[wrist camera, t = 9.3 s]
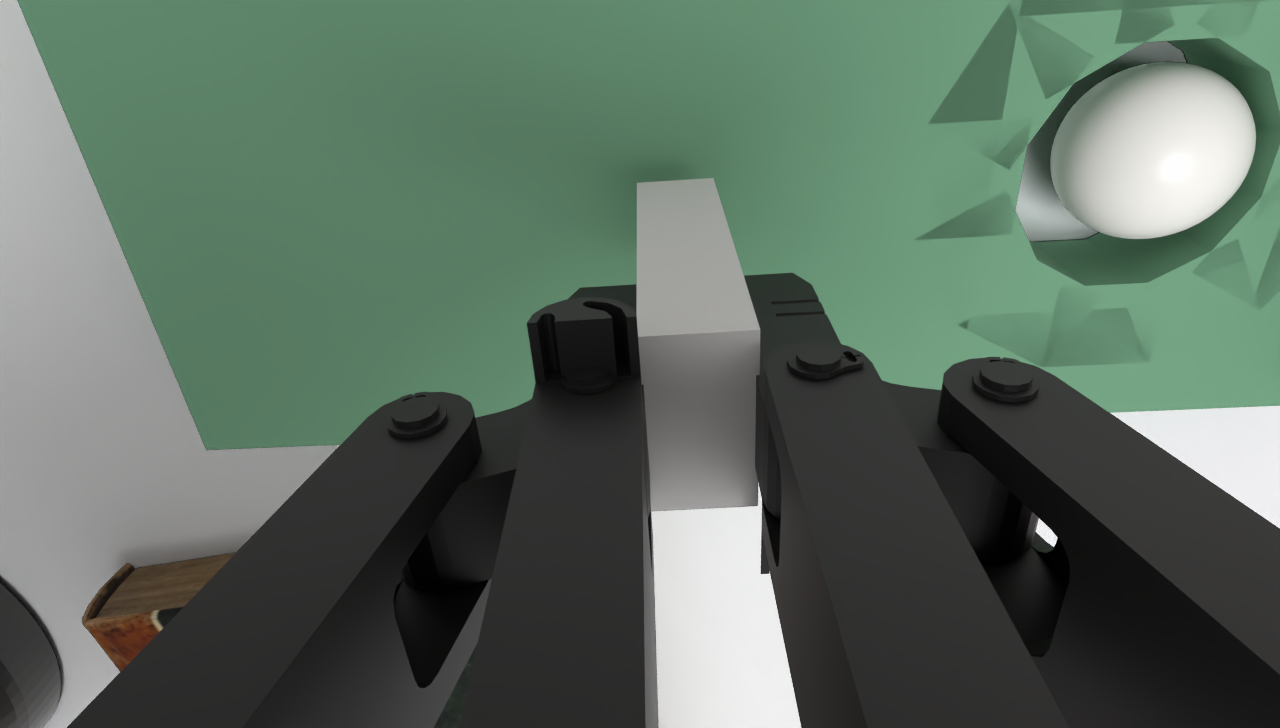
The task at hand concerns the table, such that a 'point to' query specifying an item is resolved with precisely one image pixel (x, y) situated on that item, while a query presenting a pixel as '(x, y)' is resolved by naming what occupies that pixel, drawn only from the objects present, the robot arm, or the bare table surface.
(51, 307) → the table surface
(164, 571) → the book
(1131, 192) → the ball
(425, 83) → the green
